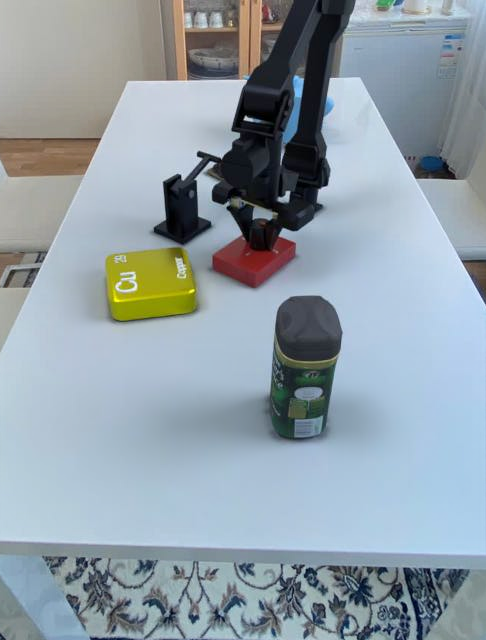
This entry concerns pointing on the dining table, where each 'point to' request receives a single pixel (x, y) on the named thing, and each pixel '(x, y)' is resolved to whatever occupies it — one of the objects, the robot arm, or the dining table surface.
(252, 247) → the knob
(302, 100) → the robot arm
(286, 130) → the teakettle
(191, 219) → the lever bracket
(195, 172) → the black lever handle
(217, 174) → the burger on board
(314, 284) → the dining table surface
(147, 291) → the element tile
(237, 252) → the dial panel
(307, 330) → the coffee jar
